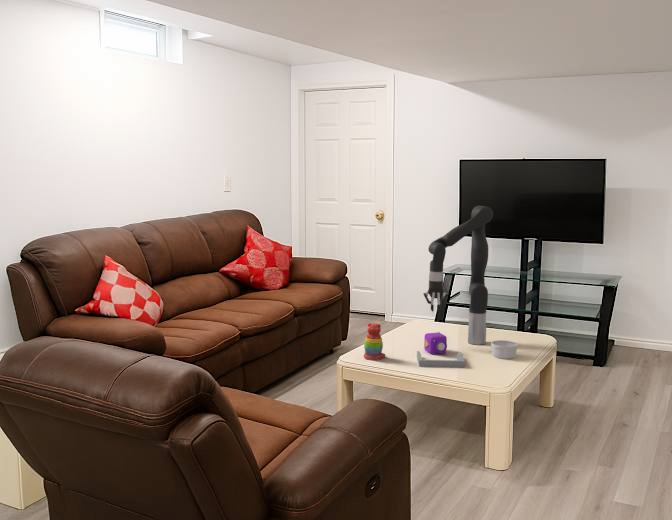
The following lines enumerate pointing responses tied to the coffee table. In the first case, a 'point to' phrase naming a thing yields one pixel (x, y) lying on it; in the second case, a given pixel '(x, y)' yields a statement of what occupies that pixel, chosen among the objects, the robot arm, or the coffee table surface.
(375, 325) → the stacking bear
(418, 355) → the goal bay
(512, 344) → the ramekin
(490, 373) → the coffee table surface
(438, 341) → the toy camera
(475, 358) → the coffee table surface
